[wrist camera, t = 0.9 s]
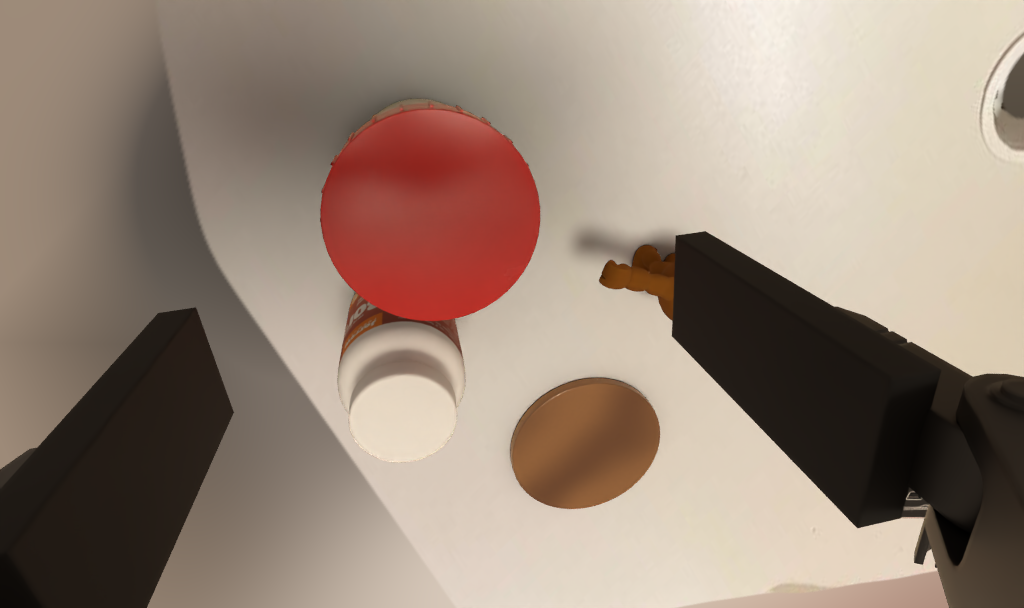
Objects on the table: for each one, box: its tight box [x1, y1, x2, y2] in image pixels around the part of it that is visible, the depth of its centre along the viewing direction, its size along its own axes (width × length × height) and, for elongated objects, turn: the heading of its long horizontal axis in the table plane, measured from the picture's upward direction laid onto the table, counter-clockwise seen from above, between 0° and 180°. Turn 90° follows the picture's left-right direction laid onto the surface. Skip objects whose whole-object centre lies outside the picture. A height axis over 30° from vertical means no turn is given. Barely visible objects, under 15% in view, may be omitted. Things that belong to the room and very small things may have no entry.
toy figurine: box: [599, 245, 675, 321], centre depth 33 cm, size 12×4×7 cm, turn 71°
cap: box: [320, 101, 540, 321], centre depth 22 cm, size 8×8×2 cm
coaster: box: [510, 378, 660, 509], centre depth 41 cm, size 11×11×1 cm
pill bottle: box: [338, 293, 465, 462], centre depth 29 cm, size 6×6×11 cm
